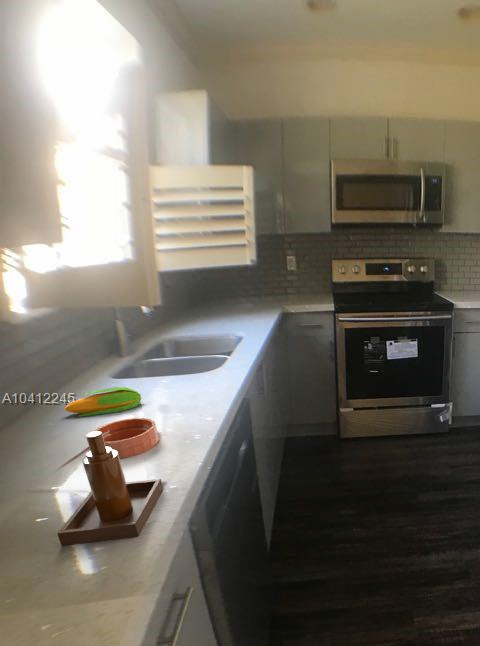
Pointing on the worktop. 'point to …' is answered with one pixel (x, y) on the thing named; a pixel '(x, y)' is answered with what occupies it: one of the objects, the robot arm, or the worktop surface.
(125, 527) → the tray
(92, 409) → the corn
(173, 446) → the worktop surface
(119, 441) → the bowl
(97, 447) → the bottle
